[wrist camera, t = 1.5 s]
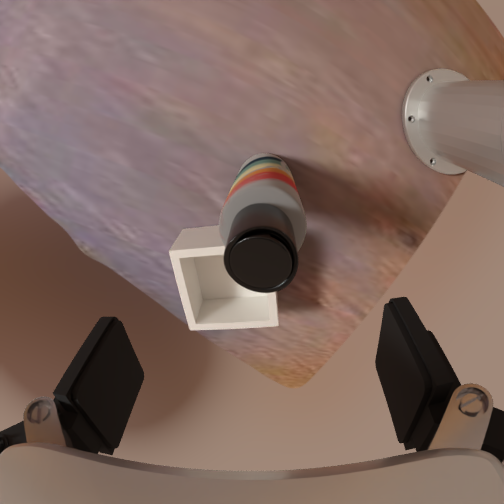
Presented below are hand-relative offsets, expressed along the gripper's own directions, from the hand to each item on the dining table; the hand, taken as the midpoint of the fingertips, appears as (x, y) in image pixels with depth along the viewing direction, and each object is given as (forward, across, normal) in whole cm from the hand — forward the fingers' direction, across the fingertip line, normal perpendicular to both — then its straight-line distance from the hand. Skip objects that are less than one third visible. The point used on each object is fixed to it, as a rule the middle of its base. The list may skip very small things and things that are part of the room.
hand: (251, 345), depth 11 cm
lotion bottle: (+26, 0, 0) cm, 26 cm away
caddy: (+26, +5, +10) cm, 28 cm away
